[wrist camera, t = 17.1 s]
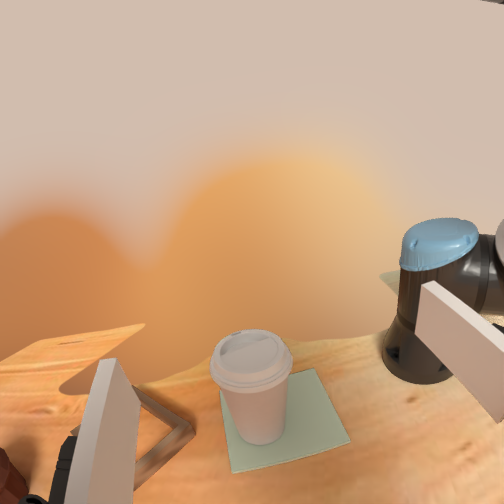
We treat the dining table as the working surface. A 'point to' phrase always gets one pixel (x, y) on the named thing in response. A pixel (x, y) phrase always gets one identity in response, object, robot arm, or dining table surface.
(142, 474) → the square tray
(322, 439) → the mat
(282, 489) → the dining table surface
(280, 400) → the coffee cup
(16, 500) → the muffin
